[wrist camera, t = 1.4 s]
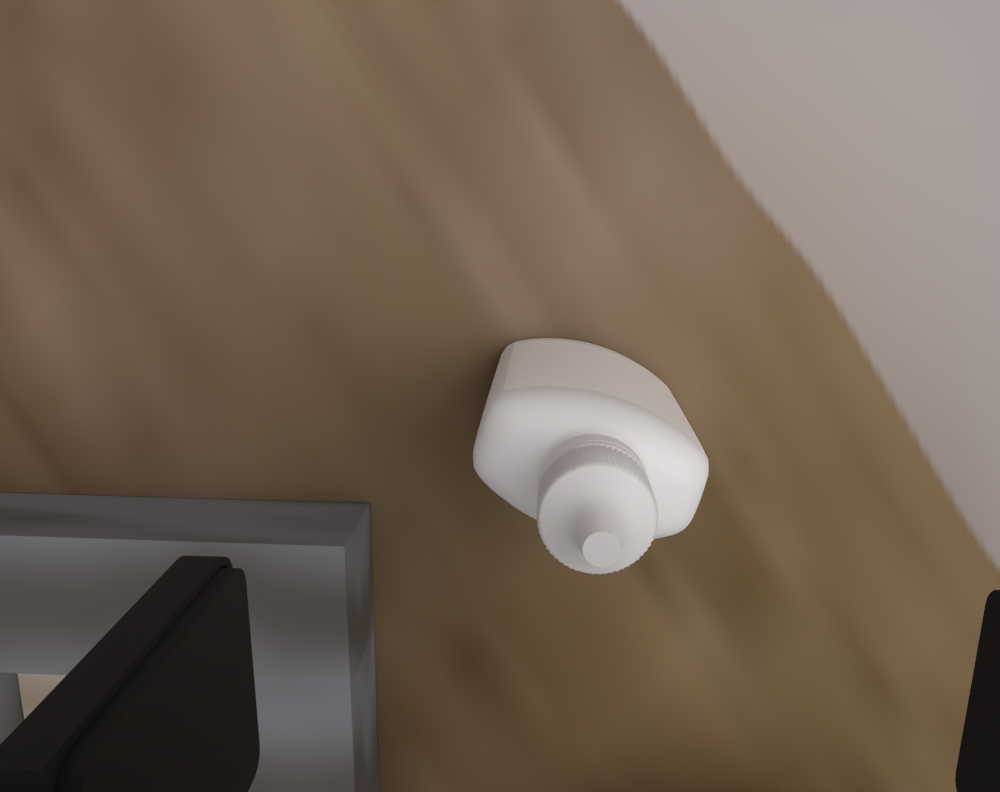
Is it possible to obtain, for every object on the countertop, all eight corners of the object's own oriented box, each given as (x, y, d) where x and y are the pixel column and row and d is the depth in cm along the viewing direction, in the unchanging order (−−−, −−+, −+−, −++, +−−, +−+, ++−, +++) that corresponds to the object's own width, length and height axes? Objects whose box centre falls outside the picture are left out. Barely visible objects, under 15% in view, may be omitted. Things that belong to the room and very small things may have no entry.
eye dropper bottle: (568, 283, 26) (581, 358, 14) (689, 408, 26) (797, 577, 15) (471, 378, 27) (408, 522, 15) (590, 496, 27) (619, 721, 16)
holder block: (384, 933, 32) (364, 1020, 29) (-56, 907, 33) (-125, 988, 30) (369, 503, 28) (344, 546, 25) (-136, 489, 29) (-227, 528, 26)
